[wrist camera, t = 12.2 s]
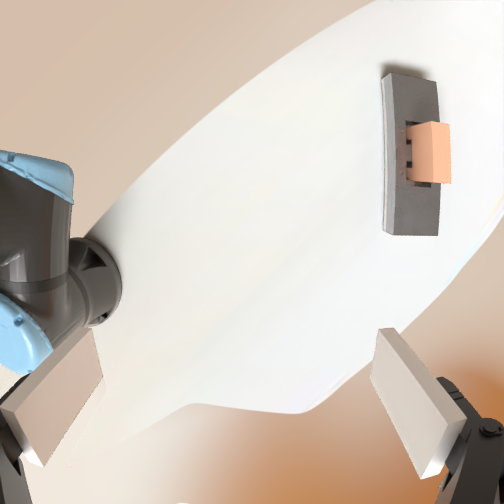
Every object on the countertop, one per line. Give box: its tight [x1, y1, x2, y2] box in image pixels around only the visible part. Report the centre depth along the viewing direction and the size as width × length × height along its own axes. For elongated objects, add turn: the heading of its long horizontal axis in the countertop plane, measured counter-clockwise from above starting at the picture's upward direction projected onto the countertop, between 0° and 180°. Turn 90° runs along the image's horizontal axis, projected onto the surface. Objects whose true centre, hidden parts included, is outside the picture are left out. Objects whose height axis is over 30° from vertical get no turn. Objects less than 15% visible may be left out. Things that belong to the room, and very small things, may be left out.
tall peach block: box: [406, 121, 451, 184], centre depth 39 cm, size 3×8×9 cm, turn 2°
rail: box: [381, 73, 441, 236], centre depth 43 cm, size 8×24×4 cm, turn 1°
